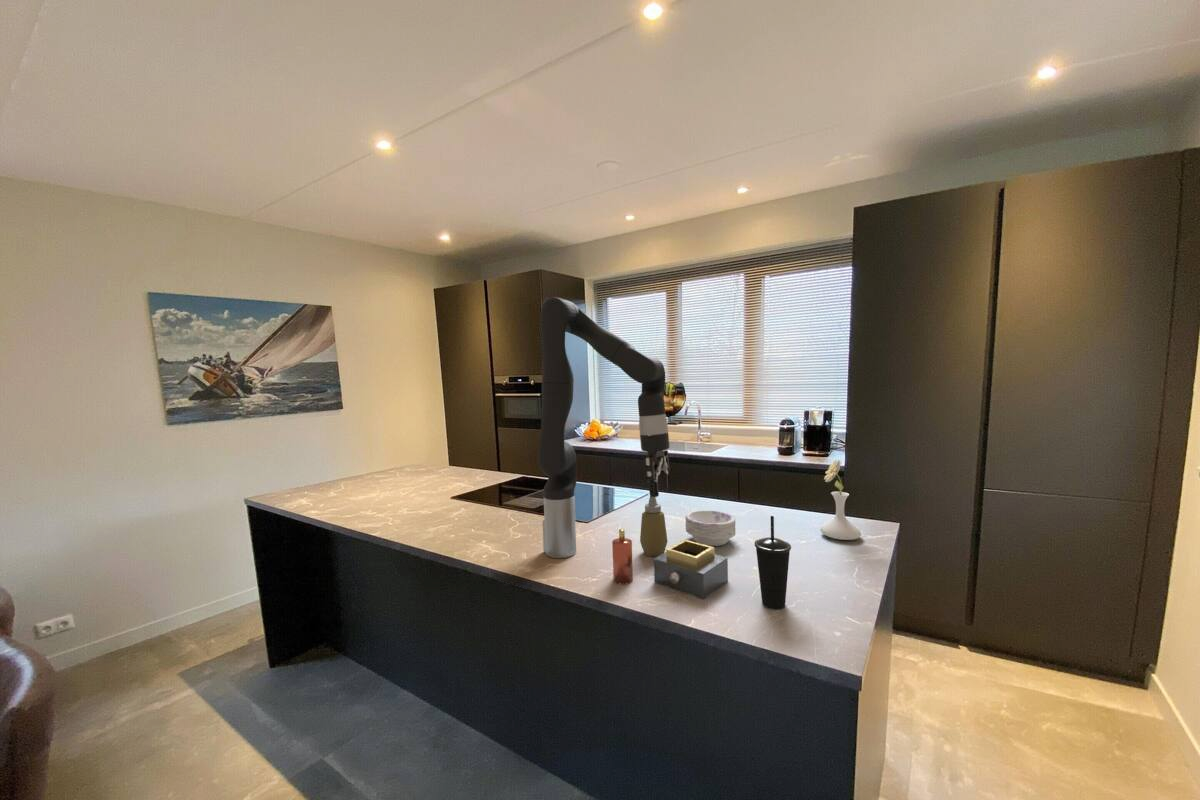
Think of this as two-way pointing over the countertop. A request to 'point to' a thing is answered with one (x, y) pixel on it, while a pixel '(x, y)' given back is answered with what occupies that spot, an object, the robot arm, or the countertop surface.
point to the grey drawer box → (691, 569)
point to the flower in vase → (839, 511)
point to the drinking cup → (773, 569)
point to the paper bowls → (710, 527)
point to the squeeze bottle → (653, 529)
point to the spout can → (622, 559)
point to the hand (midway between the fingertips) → (659, 492)
